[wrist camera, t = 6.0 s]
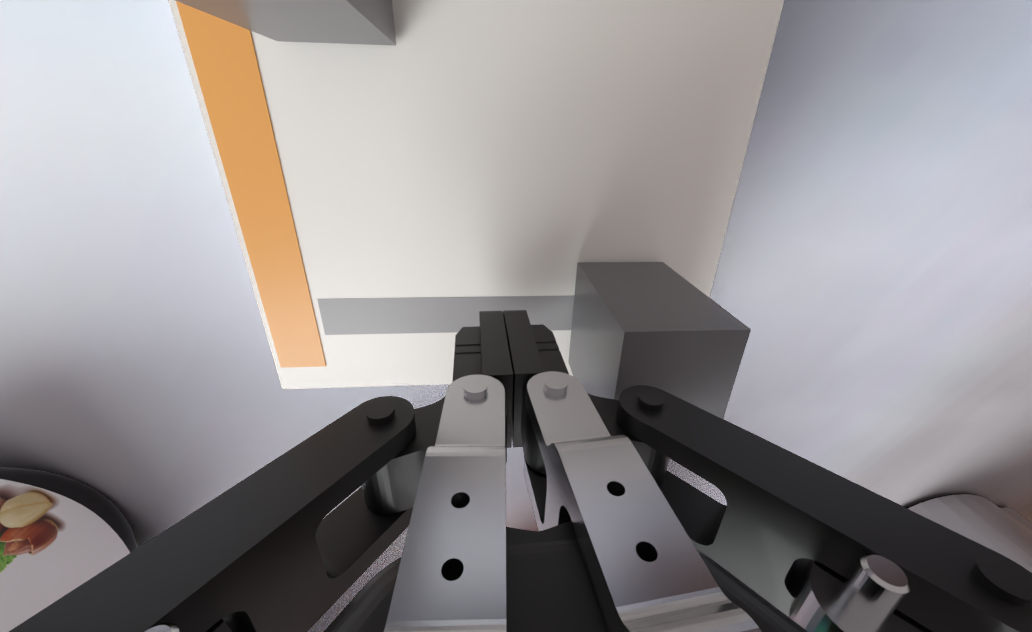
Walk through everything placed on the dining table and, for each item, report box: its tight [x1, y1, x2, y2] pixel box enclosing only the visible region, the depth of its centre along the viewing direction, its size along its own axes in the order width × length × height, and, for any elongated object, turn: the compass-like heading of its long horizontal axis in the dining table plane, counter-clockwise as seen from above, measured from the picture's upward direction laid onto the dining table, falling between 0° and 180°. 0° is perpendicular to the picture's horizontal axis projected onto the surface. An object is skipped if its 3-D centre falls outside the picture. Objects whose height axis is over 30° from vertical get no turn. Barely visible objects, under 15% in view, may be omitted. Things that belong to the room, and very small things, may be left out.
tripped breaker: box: [568, 262, 751, 459], centre depth 12 cm, size 3×4×5 cm
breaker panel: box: [169, 0, 784, 389], centre depth 13 cm, size 16×16×2 cm
